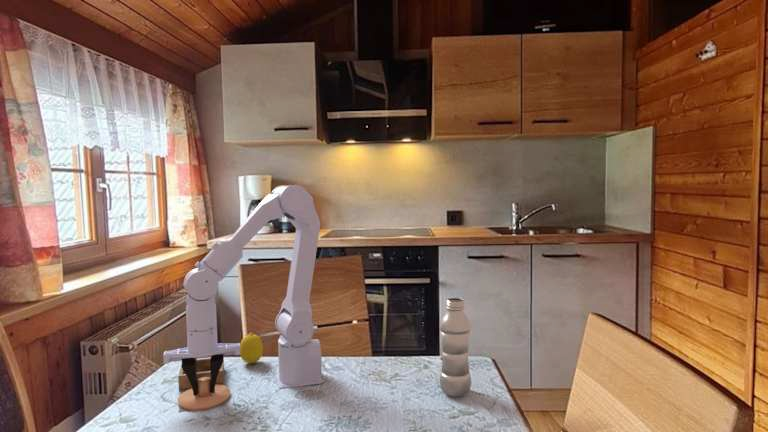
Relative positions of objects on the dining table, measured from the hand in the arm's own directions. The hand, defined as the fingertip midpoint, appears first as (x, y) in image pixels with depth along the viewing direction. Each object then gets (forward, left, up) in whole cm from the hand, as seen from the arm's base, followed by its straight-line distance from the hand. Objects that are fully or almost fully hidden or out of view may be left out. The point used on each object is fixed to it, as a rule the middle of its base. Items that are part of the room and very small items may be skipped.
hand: (204, 392), depth 95 cm
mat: (0, 0, -2) cm, 2 cm away
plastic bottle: (-50, +15, -2) cm, 52 cm away
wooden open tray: (+1, -10, -2) cm, 11 cm away
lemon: (-10, -16, -2) cm, 19 cm away
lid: (0, 0, -1) cm, 1 cm away
